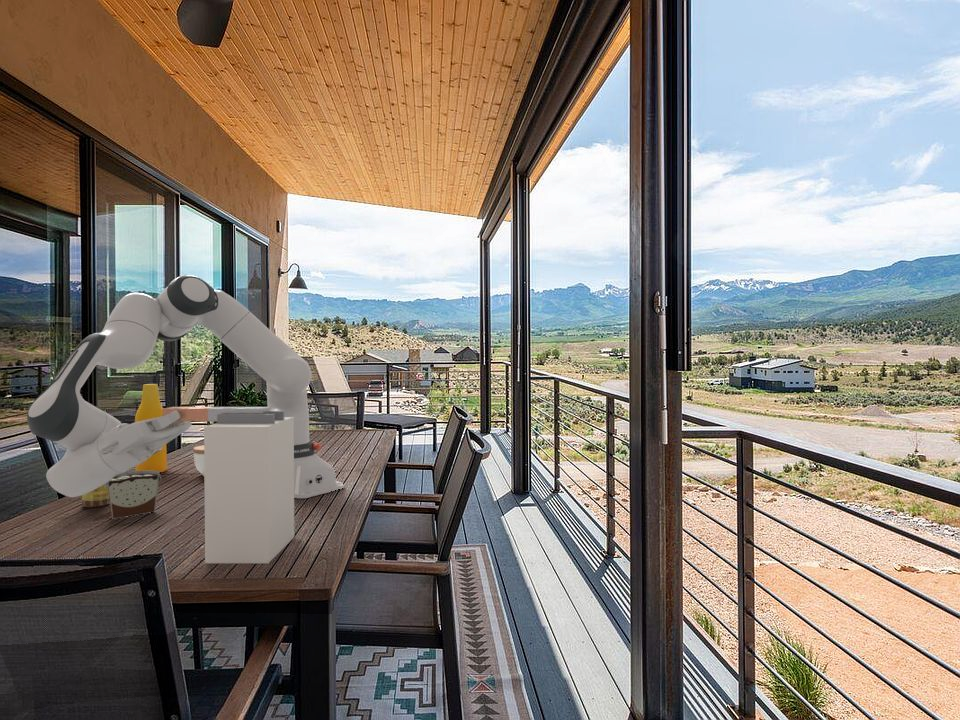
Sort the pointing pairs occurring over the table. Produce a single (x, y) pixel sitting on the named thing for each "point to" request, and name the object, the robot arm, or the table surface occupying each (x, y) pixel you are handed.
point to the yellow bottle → (149, 411)
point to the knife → (213, 412)
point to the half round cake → (133, 493)
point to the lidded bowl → (199, 458)
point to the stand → (248, 487)
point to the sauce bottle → (96, 497)
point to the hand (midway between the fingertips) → (186, 411)
